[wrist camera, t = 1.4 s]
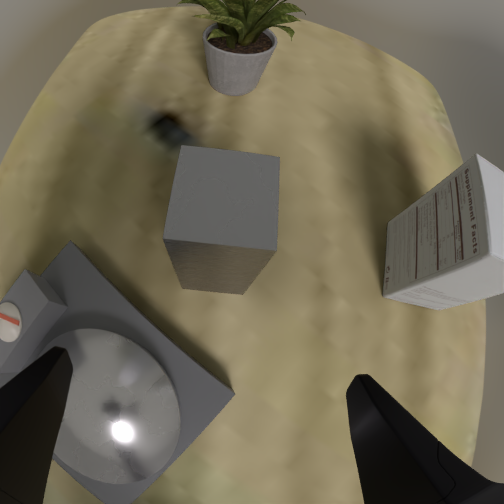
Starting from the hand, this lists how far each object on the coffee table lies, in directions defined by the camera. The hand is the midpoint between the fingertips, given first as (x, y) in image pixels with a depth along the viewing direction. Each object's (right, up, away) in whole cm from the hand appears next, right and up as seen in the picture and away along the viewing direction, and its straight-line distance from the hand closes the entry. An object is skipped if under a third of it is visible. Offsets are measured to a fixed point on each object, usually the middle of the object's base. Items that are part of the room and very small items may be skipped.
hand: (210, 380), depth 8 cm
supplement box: (+16, +2, +18) cm, 24 cm away
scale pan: (-9, -7, +8) cm, 14 cm away
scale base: (-11, -6, +10) cm, 16 cm away
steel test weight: (-2, +3, +15) cm, 15 cm away
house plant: (0, +23, +21) cm, 31 cm away
